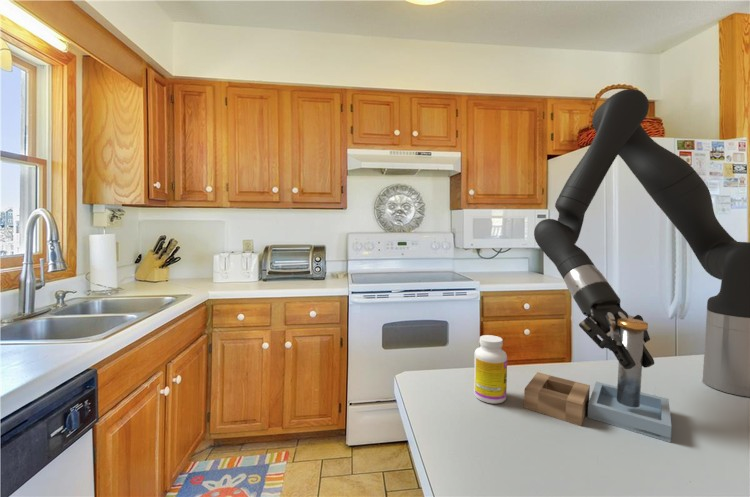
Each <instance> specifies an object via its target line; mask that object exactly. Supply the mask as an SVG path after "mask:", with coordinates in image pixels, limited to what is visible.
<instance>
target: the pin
mask: <svg viewBox="0 0 750 497" xmlns="http://www.w3.org/2000/svg"><path fill="white" fill-rule="evenodd" d="M617 325H618V326H620V340H621V342H622V346H624V347H625V348H626V349H627V351H628V352H629V354H630V356H631V357H632V359H633V360H634V362H635V364H636V365H635V366H634V367H632V368H631V369H625V368H624V367H623V366H622V365H621V364H620V363H619V362H618V367H617V368H618V369H617V370H618V371H617V385H616V386H617V401H618V402H619V403H621V404H623V405H625V406H629V407H639V406H640V393H641V391H642V390H641V388H642V375H643V374H642V373H643V366H642V358H643V341H644V330H647V331H648V328H649V323H648V322H646V321H645V320H643V321H641V320H637V319H630V318H619V319H618V324H617Z"/></svg>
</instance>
